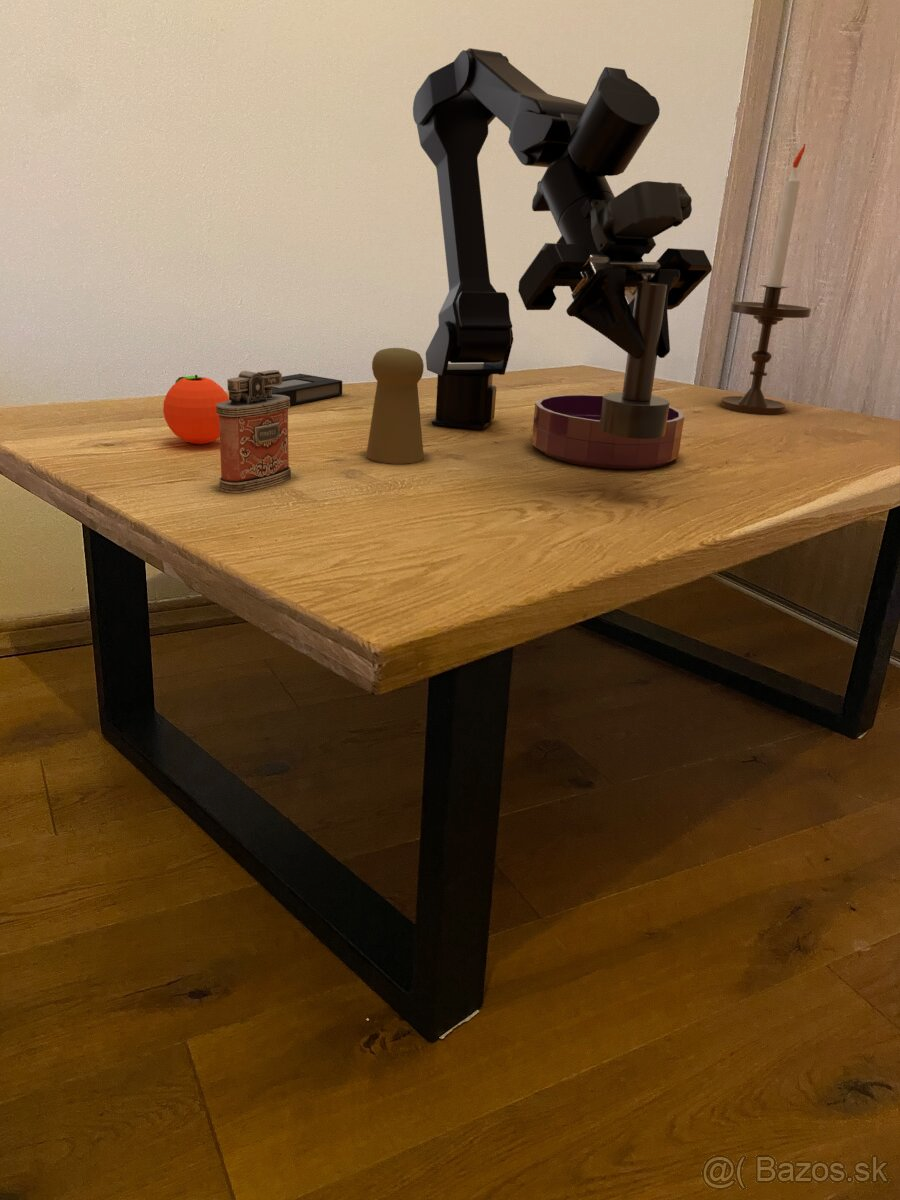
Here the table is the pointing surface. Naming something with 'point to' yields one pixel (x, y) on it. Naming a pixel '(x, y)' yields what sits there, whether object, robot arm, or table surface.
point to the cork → (396, 408)
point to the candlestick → (770, 307)
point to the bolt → (640, 375)
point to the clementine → (194, 409)
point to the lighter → (253, 433)
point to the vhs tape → (307, 388)
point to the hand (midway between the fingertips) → (653, 355)
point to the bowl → (598, 435)
